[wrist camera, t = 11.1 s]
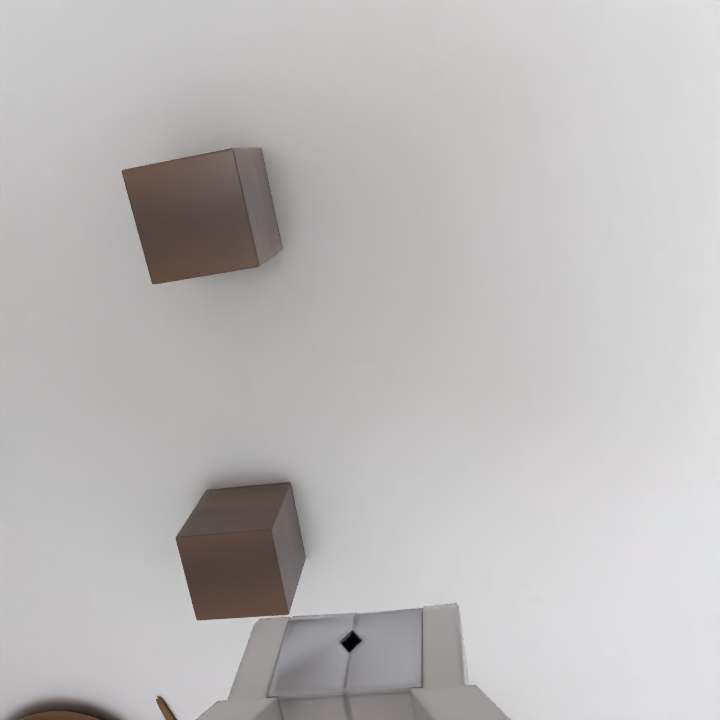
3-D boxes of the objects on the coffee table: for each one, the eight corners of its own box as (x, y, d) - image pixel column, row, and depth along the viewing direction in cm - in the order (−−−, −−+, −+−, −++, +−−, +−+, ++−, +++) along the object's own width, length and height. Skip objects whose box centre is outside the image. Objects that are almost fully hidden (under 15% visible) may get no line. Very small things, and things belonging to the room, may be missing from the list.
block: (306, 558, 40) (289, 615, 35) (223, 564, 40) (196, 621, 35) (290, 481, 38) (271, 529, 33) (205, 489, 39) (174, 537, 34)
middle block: (283, 249, 34) (259, 266, 29) (189, 266, 35) (151, 285, 30) (261, 147, 33) (232, 148, 28) (164, 166, 34) (120, 170, 29)
